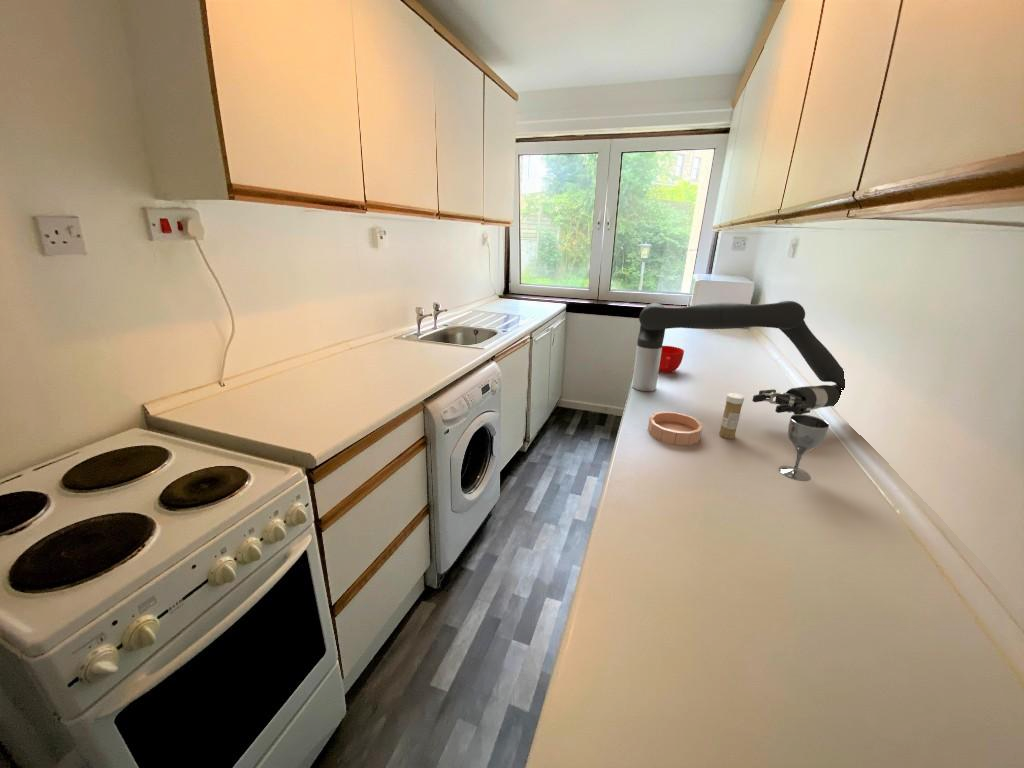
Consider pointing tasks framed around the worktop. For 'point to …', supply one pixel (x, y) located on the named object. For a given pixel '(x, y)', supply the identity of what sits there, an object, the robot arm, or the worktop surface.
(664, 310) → the robot arm
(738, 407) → the sprinkles bottle
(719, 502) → the worktop surface
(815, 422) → the wine glass
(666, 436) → the terracotta bowl
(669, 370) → the ceramic cup
